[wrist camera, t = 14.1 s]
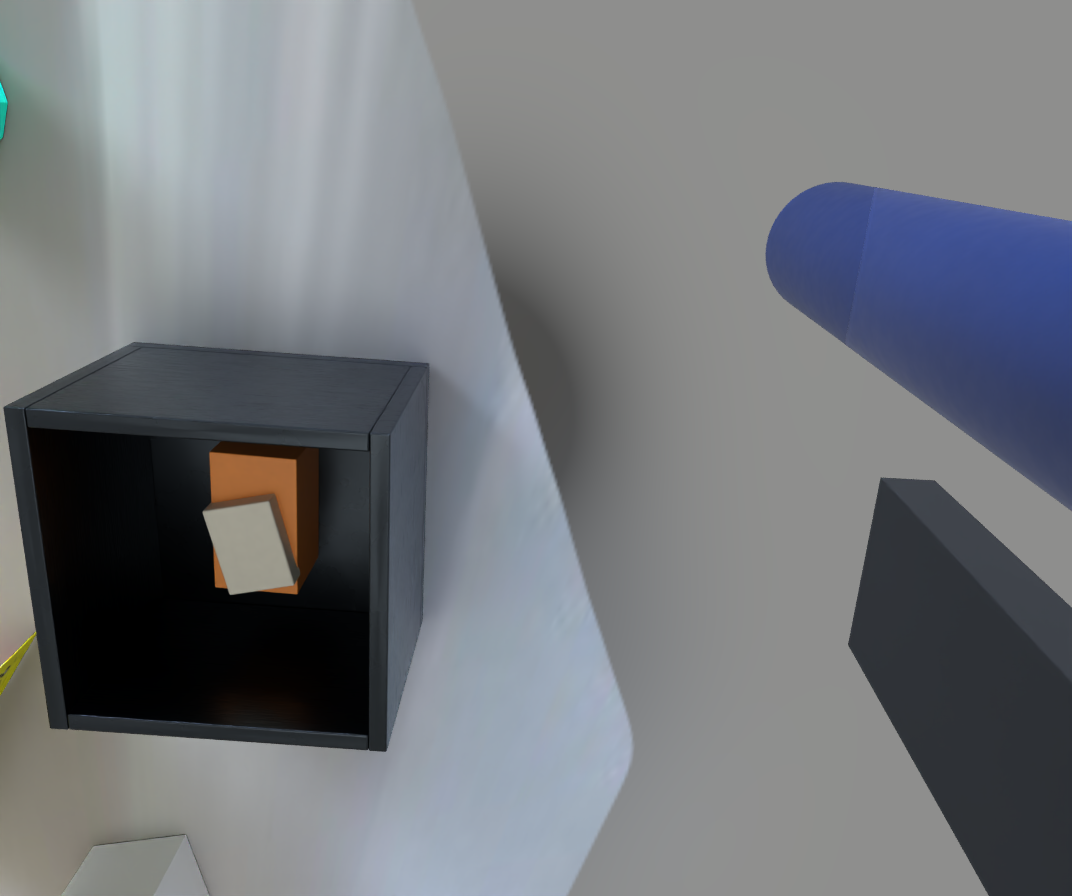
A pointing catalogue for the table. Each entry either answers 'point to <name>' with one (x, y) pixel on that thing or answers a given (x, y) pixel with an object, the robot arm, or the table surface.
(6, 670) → the food package
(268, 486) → the orange and grey block
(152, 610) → the black open storage box
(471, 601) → the table surface
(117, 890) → the white cube
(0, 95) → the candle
